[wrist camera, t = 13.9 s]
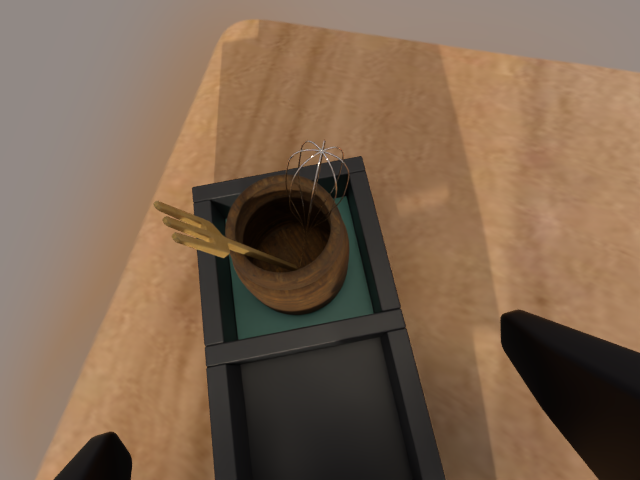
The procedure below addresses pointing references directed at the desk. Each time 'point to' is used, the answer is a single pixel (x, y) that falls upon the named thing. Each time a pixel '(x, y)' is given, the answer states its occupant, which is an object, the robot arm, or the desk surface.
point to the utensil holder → (278, 239)
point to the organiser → (313, 360)
